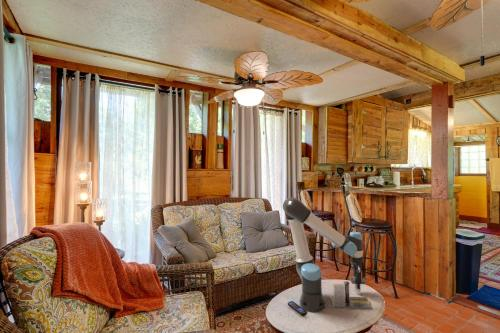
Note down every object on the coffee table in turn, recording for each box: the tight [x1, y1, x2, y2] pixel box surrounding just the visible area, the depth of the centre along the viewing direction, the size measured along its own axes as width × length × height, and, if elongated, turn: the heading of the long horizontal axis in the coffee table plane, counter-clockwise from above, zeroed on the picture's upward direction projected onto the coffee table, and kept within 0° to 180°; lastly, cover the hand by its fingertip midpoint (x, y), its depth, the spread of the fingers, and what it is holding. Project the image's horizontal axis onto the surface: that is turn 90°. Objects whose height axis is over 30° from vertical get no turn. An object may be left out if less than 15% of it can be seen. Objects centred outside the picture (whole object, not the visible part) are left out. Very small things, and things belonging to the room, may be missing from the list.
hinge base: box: [329, 280, 373, 310], centre depth 164 cm, size 22×12×13 cm, turn 82°
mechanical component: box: [348, 276, 367, 287], centre depth 177 cm, size 3×10×10 cm, turn 81°
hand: (357, 292), depth 177 cm, fingers closed on mechanical component, 3 cm apart
